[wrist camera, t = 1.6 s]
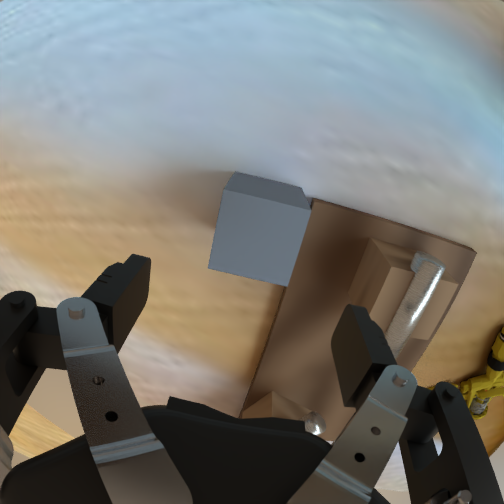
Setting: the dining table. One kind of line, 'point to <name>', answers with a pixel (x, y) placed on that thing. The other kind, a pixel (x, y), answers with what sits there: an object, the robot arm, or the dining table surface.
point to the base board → (334, 302)
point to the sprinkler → (485, 381)
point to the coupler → (259, 229)
